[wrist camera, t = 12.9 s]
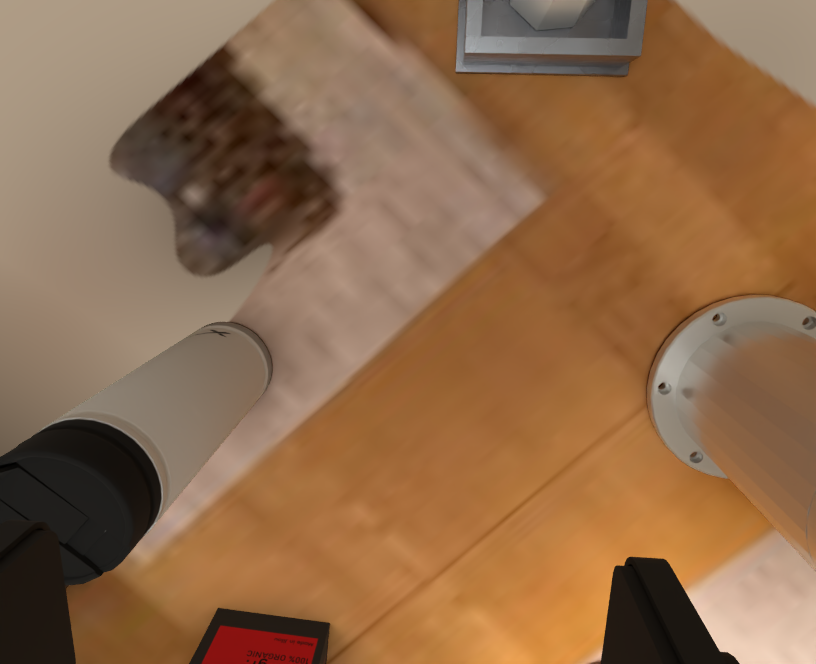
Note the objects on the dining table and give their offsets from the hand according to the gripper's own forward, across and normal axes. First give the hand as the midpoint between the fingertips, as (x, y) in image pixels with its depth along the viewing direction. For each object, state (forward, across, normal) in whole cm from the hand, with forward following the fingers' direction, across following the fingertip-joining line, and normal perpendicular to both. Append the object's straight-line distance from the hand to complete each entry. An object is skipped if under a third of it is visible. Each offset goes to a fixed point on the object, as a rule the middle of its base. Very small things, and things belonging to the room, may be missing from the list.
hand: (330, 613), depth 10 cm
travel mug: (+31, +13, +6) cm, 34 cm away
